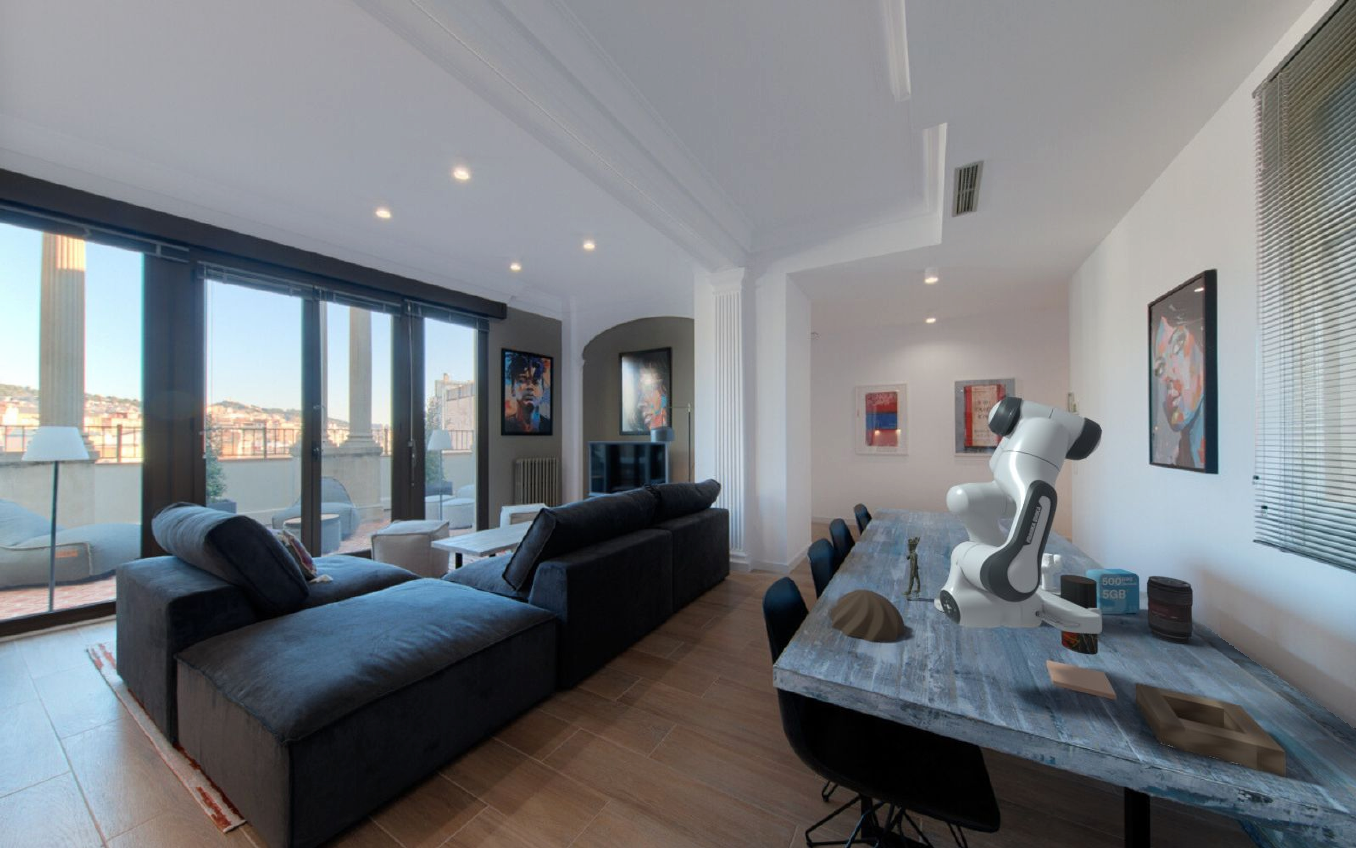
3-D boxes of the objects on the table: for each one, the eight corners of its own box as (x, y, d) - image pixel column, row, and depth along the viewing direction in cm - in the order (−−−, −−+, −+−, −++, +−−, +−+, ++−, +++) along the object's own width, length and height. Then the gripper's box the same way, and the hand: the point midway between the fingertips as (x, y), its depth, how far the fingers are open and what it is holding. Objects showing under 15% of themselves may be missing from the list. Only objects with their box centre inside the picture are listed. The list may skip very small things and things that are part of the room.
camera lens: (1150, 639, 117) (1149, 581, 117) (1145, 628, 123) (1144, 573, 123) (1197, 648, 112) (1196, 588, 112) (1189, 636, 118) (1188, 579, 118)
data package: (1099, 614, 132) (1099, 574, 132) (1085, 608, 136) (1085, 569, 136) (1140, 614, 132) (1139, 573, 132) (1124, 608, 136) (1124, 568, 136)
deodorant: (1105, 655, 95) (1103, 584, 95) (1073, 653, 96) (1071, 583, 96) (1085, 642, 101) (1084, 575, 101) (1055, 640, 102) (1054, 574, 102)
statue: (897, 596, 148) (896, 535, 148) (916, 595, 148) (915, 535, 148) (905, 601, 143) (904, 539, 143) (924, 601, 143) (923, 538, 143)
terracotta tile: (1053, 685, 97) (1053, 680, 97) (1046, 664, 105) (1046, 660, 105) (1116, 700, 91) (1116, 695, 91) (1103, 676, 100) (1103, 672, 100)
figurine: (1024, 597, 145) (1024, 551, 145) (1049, 595, 147) (1048, 549, 147) (1046, 606, 138) (1046, 558, 138) (1072, 604, 140) (1071, 556, 140)
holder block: (1160, 744, 79) (1160, 721, 79) (1135, 702, 91) (1135, 682, 91) (1285, 777, 71) (1285, 752, 71) (1240, 727, 83) (1240, 705, 83)
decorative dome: (839, 606, 140) (839, 574, 140) (910, 622, 129) (909, 587, 129) (819, 630, 125) (819, 594, 125) (897, 650, 113) (897, 610, 113)
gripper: (1060, 610, 88) (1130, 609, 88) (987, 576, 108) (1044, 575, 108) (1060, 642, 88) (1131, 642, 88) (988, 602, 108) (1044, 601, 108)
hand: (1082, 605), depth 98 cm, fingers closed on deodorant, 6 cm apart
